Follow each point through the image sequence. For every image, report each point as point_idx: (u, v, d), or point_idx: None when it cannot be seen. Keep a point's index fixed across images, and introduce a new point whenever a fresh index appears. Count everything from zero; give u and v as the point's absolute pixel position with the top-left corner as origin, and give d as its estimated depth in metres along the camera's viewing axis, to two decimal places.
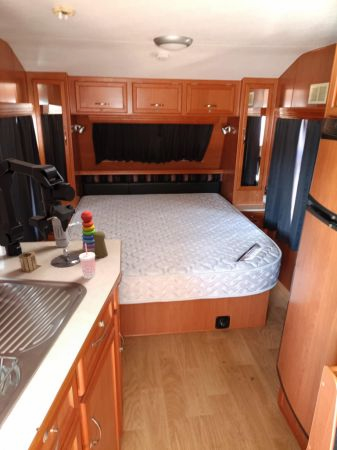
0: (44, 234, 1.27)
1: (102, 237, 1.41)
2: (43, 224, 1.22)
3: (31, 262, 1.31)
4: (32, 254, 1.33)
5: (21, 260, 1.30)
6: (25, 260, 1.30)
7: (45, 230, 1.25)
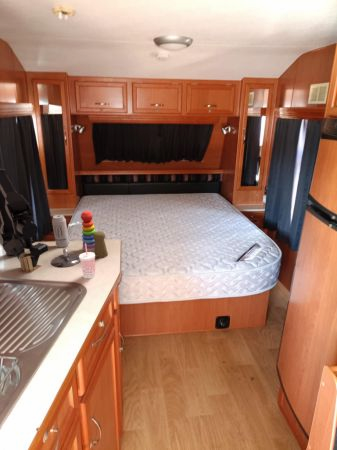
0: None
1: (102, 237, 1.41)
2: None
3: (31, 262, 1.31)
4: None
5: (21, 260, 1.30)
6: (25, 260, 1.30)
7: (16, 255, 1.33)
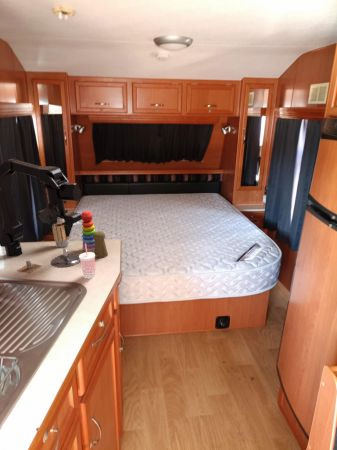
0: None
1: (102, 237, 1.41)
2: (39, 218, 1.33)
3: (64, 232, 1.33)
4: None
5: (55, 230, 1.32)
6: (59, 229, 1.31)
7: (49, 225, 1.34)
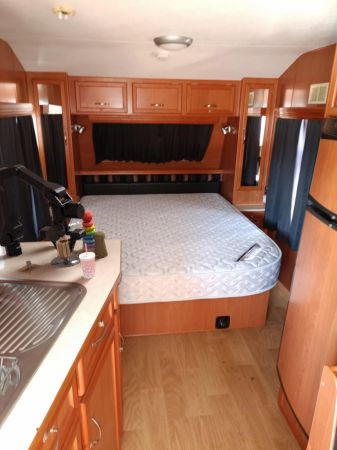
0: None
1: (102, 237, 1.41)
2: (42, 235, 1.35)
3: (69, 248, 1.36)
4: None
5: (60, 246, 1.35)
6: (64, 246, 1.35)
7: (52, 242, 1.37)
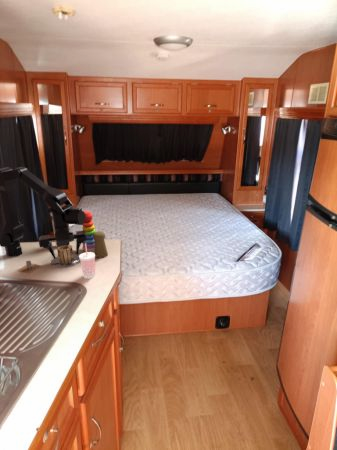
0: (51, 253, 1.37)
1: (102, 237, 1.41)
2: (44, 245, 1.32)
3: (72, 252, 1.39)
4: (68, 246, 1.39)
5: (65, 253, 1.36)
6: (68, 251, 1.36)
7: (50, 250, 1.35)
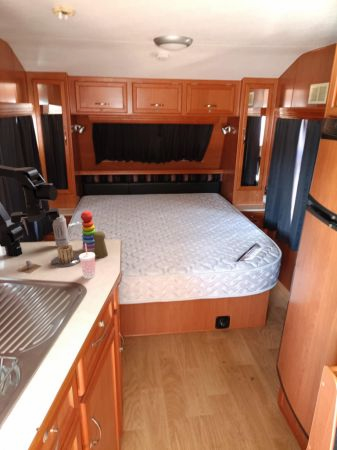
0: None
1: (102, 237, 1.41)
2: (16, 221, 1.32)
3: (72, 252, 1.39)
4: (68, 246, 1.39)
5: (65, 253, 1.36)
6: (68, 251, 1.36)
7: (22, 226, 1.35)
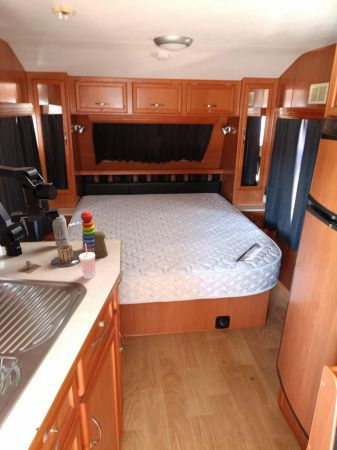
0: None
1: (102, 237, 1.41)
2: (16, 221, 1.32)
3: (72, 252, 1.39)
4: (68, 246, 1.39)
5: (65, 253, 1.36)
6: (68, 251, 1.36)
7: (22, 226, 1.35)
